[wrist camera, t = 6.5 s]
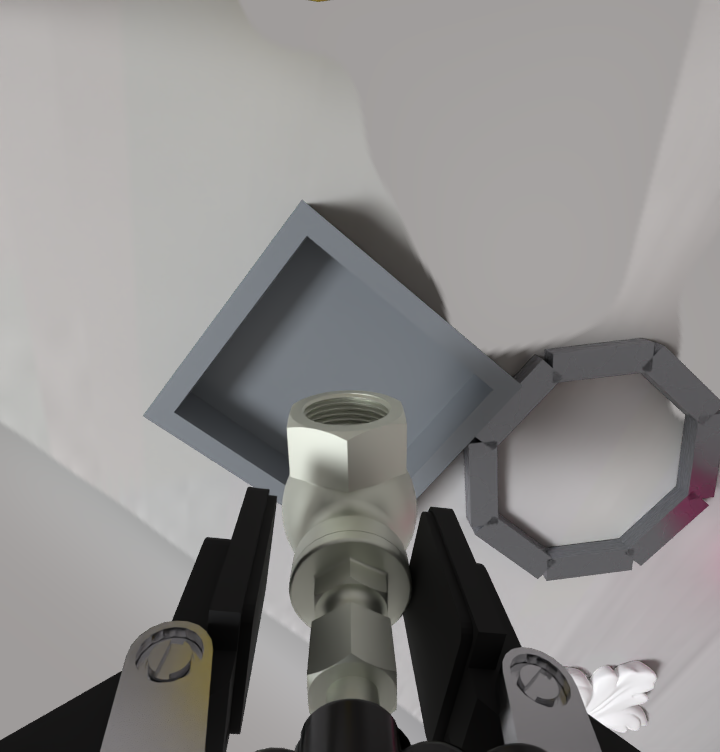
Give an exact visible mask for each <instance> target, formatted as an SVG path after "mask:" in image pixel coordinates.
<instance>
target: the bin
mask: <svg viewBox="0 0 720 752" xmlns="http://www.w3.org/2000/svg"><path fill="white" fill-rule="evenodd" d="M521 387H522V385H521V384H520V383H519V382H517V381H516V380H515V379H514V378H513V377H512V376H510V375H509V374H508V373H507V372H506V371H504V370H503V369H502V368H501V367H500V366H498V365H497V364H496V363H495V362H494V361H493V360H491V359H490V358H489V357H488V356H487V355H485V354H484V353H483V352H482V351H481V350H480V349H478V348H477V347H476V346H475V345H474V344H472V343H471V342H470V341H469V340H468V339H466V338H465V337H464V336H463V335H462V334H461V333H459V332H458V331H457V330H456V329H455V328H453V327H452V326H451V325H450V324H449V323H448V322H446V321H445V320H444V319H443V318H442V317H440V316H439V315H438V314H437V313H436V312H435V311H433V310H432V309H431V308H430V307H429V306H427V305H426V304H425V303H424V302H423V301H422V300H420V299H419V298H418V297H417V296H416V295H414V294H413V293H412V292H411V291H410V290H408V289H407V288H406V287H405V286H404V285H403V284H401V283H400V282H399V281H398V280H397V279H395V278H394V277H393V276H392V275H391V274H390V273H388V272H387V271H386V270H385V269H384V268H382V267H381V266H380V265H379V264H378V263H377V262H375V261H374V260H373V259H372V258H371V257H369V256H368V255H367V254H366V253H365V252H364V251H362V250H361V249H360V248H359V247H358V246H356V245H355V244H354V243H353V242H352V241H350V240H349V239H348V238H347V237H346V236H345V235H343V234H342V233H341V232H340V231H339V230H337V229H336V228H335V227H334V226H333V225H332V224H330V223H329V222H328V221H327V220H326V219H324V218H323V217H322V216H321V215H320V214H319V213H317V212H316V211H315V210H314V209H313V208H311V207H310V206H309V205H308V204H307V203H305V202H304V201H303V200H301V202H300V203H299V204H298V206H297V207H296V209H295V210H294V211H293V213H292V214H291V215H290V217H289V218H288V219H287V221H286V222H285V224H284V225H283V226H282V228H281V229H280V230H279V232H278V233H277V234H276V236H275V237H274V238H273V240H272V241H271V243H270V244H269V245H268V247H267V248H266V249H265V251H264V252H263V253H262V255H261V256H260V257H259V259H258V260H257V262H256V263H255V264H254V266H253V267H252V268H251V270H250V271H249V272H248V274H247V275H246V276H245V278H244V279H243V281H242V282H241V283H240V285H239V286H238V287H237V289H236V290H235V291H234V293H233V294H232V295H231V297H230V298H229V300H228V301H227V302H226V304H225V305H224V306H223V308H222V309H221V310H220V312H219V313H218V314H217V316H216V317H215V319H214V320H213V321H212V323H211V324H210V325H209V327H208V328H207V329H206V331H205V332H204V334H203V335H202V336H201V338H200V339H199V340H198V342H197V343H196V344H195V346H194V347H193V348H192V350H191V351H190V353H189V354H188V355H187V357H186V358H185V359H184V361H183V362H182V363H181V365H180V366H179V367H178V369H177V370H176V372H175V373H174V374H173V376H172V377H171V378H170V380H169V381H168V382H167V384H166V385H165V386H164V388H163V389H162V391H161V392H160V393H159V395H158V396H157V397H156V399H155V400H154V401H153V403H152V404H151V405H150V407H149V408H148V410H147V411H146V412H145V414H144V415H143V416H144V417H145V418H147V419H148V420H150V421H151V422H153V423H155V424H156V425H158V426H159V427H161V428H162V429H164V430H165V431H167V432H169V433H170V434H172V435H173V436H175V437H176V438H178V439H180V440H181V441H183V442H184V443H186V444H187V445H189V446H190V447H192V448H194V449H195V450H197V451H198V452H200V453H201V454H203V455H204V456H206V457H208V458H209V459H211V460H212V461H214V462H215V463H217V464H219V465H220V466H222V467H223V468H225V469H226V470H228V471H229V472H231V473H233V474H234V475H236V476H237V477H239V478H240V479H242V480H243V481H245V482H247V483H248V484H250V485H251V486H253V487H254V488H263V489H270V493H269V495H274V496H277V502H278V503H279V504H281V505H282V500H283V494H284V489H285V485H286V483H287V480H288V477H289V475H290V467H289V453H288V439H287V423H288V417H289V413H290V410H291V407H292V405H293V404H294V403H296V402H298V401H300V400H302V399H304V398H307V397H309V396H313V395H316V394H320V393H325V392H332V391H345V390H357V391H369V392H376V393H380V394H384V395H387V396H390V397H392V398H395V399H397V400H399V401H400V402H401V404H402V406H403V409H404V413H405V417H406V422H407V463H406V469H407V471H408V473H409V475H410V477H411V480H412V482H413V486H414V490H415V494H416V499H417V498H418V497H419V496H420V495H421V494H422V493H423V492H424V490H425V489H426V488H427V487H428V486H429V485H430V484H431V483H432V482H433V481H434V480H435V479H436V478H437V477H438V476H439V475H440V473H441V472H442V471H443V470H444V469H445V468H446V467H447V466H448V465H449V464H450V463H451V462H452V461H453V460H454V459H455V458H456V457H457V455H458V454H459V453H460V452H461V451H462V450H463V449H464V448H465V447H466V446H467V445H468V444H469V443H470V442H471V441H472V440H473V438H474V437H475V436H476V435H477V434H478V433H479V432H480V431H481V430H482V429H483V428H484V427H485V426H486V425H487V424H488V423H489V421H490V420H491V419H492V418H493V417H494V416H495V415H496V414H497V413H498V412H499V411H500V410H501V409H502V408H503V407H504V406H505V404H506V403H507V402H508V401H509V400H510V399H511V398H512V397H513V396H514V395H515V394H516V393H517V392H518V391H519V390H520V389H521Z"/></svg>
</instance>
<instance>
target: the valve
mask: <svg viewBox="0 0 720 752" xmlns="http://www.w3.org/2000/svg"><path fill="white" fill-rule="evenodd" d="M287 439H288V453H289V467H290V475H289V477H288V480H287V483H286V485H285V489H284V494H283V500H282V519H283V525H284V529H285V533H286V536H287V539H288V541H289V544H290V546H291V548H292V550H293V551H294V553H295V554H294V558H293V564H292V570H291V576H290V583H289V594H290V599H291V604H292V606H293V608H294V610H295V612H296V613H297V615H298V616H299V618H300V619H301V620H302V621H303V622H304V623H305V624H306V625H307V626H309V627H310V628H311V634H310V646H309V658H308V670H307V689H308V704H309V712H310V714H311V715H310V716H309V718H308V719H307V720H306V722H305V723H304V726H303V729H302V731H301V738H300V740H299V742H298V744H297V745H296V748H295V751H293V750H289V749H285V748H266V749H262V750H257V751H255V752H465V751H464V750H462V749H461V748H460V747H458V746H455V745H453V744H450V743H448V742H444V741H437V740H432V741H423V742H419V743H417V744H414V745H411V744H410V742H409V740H408V738H407V737H406V736H405V734H404V733H403V732H402V731H401V730H400V729H399V728H398V727H397V725H396V722H395V720H394V719H393V717H392V716H391V713H393V712H394V711H395V710H396V706H397V672H396V663H395V654H394V646H393V637H392V628H391V626H392V625H393V624H394V623H395V622H397V621H398V620H399V619H400V617H401V616H402V615H403V613H404V612H405V611H406V609H407V607H408V604H409V602H410V599H411V594H412V579H411V573H410V568H409V563H408V558H407V553H406V549H407V547H408V545H409V543H410V541H411V538H412V536H413V533H414V529H415V523H416V517H417V502H416V494H415V490H414V486H413V482H412V480H411V477H410V475H409V473H408V471H407V469H406V463H407V422H406V417H405V413H404V409H403V406H402V404H401V402H400V401H399V400H397V399H395V398H392V397H390V396H387V395H384V394H380V393H376V392H369V391H357V390H345V391H332V392H325V393H320V394H316V395H313V396H309V397H307V398H304V399H302V400H300V401H298V402H296V403H294V404H293V405H292V407H291V410H290V413H289V417H288V423H287ZM487 752H547V751H545V750H544V749H542V748H540V747H538V746H535V745H531V744H527V743H509V744H504V745H500V746H497V747H495V748H492V749H490V750H488V751H487Z"/></svg>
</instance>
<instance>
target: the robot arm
mask: <svg viewBox="0 0 720 752" xmlns="http://www.w3.org/2000/svg"><path fill="white" fill-rule="evenodd" d="M269 493H270V489H263V488H254V487H248V488H247V491H246V494H245V498H244V501H243V504H242V507H241V510H240V514H239V517H238V520H237V523H236V526H235V529H234V533H233V536H232V539H231V540H230V539H220V538H210V537H207V538H205V540H204V542H203V545H202V547H201V550H200V552H199V555H198V557H197V560H196V562H195V565H194V567H193V570H192V572H191V575H190V577H189V580H188V582H187V585H186V587H185V590H184V592H183V595H182V597H181V600H180V602H179V605H178V607H177V610H176V612H175V615H174V617H173V620H172V621H171V622H164V623H161V624H159V625H157V626H154V627H152V628H150V629H148V630H147V631H145V632H144V633H143V634H141V635H140V636H139V637H138V638H137V639H136V640H135V641H134V643H133V644H132V645H131V647H130V649H129V651H128V653H127V655H126V659H125V662H124V666H123V669H122V671H121V672H119V673H117V674H116V675H114V676H112V677H110V678H109V679H107V680H105V681H103V682H102V683H100V684H98V685H96V686H95V687H93V688H91V689H89V690H88V691H86V692H84V693H82V694H81V695H79V696H77V697H75V698H74V699H72V700H70V701H68V702H67V703H65V704H63V705H61V706H60V707H58V708H56V709H54V710H53V711H51V712H49V713H47V714H46V715H44V716H42V717H40V718H39V719H37V720H35V721H33V722H32V723H30V724H28V725H26V726H25V727H23V728H21V729H19V730H18V731H16V732H14V733H12V734H10V735H9V736H7V737H5V738H3V739H2V740H0V752H226V749H227V744H228V739H229V734H240V732H241V726H242V721H243V715H244V710H245V704H246V697H247V692H248V687H249V681H250V675H251V670H252V663H253V658H254V653H255V647H256V642H257V635H258V630H259V624H260V619H261V613H262V608H263V602H264V596H265V590H266V583H267V575H268V567H269V559H270V551H271V543H272V535H273V527H274V519H275V511H276V503H277V496H274V495H269ZM409 568H410V573H411V579H412V594H411V599H410V602H409V604H408V607H407V609H406V611H405V612H404V613H403V617H404V622H405V627H406V633H407V638H408V643H409V649H410V654H411V659H412V665H413V670H414V675H415V681H416V686H417V691H418V697H419V702H420V707H421V713H422V718H423V723H424V729H425V734H426V738H427V741H432V740H437V741H444V742H448V743H450V744H453V745H455V746H458V747H460V748H461V749H462V750H464V751H465V752H487V751H488V750H490V749H492V748H495V747H497V746H500V745H504V744H509V743H527V744H531V745H535V746H538V747H540V748H542V749H544V750H545V751H547V752H640V751H639V750H638V749H636V748H635V747H634V746H632V745H631V744H629V743H628V742H627V741H625V740H624V739H622V738H621V737H620V736H618V735H617V734H615V733H614V732H613V731H611V730H610V729H609V728H607V727H606V726H604V725H603V724H602V723H600V722H599V721H597V720H596V719H595V718H593V717H592V716H590V715H589V714H588V713H587V711H586V708H585V706H584V703H583V700H582V698H581V695H580V692H579V690H578V687H577V685H576V683H575V681H574V680H573V678H572V676H571V675H570V674H569V672H568V671H567V670H566V669H565V668H564V667H563V666H562V665H561V664H560V663H559V662H557V661H556V660H555V659H554V658H552V657H550V656H549V655H547V654H545V653H543V652H541V651H538V650H535V649H532V648H524V647H521V645H520V642H519V640H518V638H517V636H516V634H515V631H514V629H513V627H512V625H511V623H510V620H509V618H508V616H507V614H506V612H505V609H504V607H503V605H502V603H501V601H500V598H499V596H498V594H497V592H496V590H495V587H494V585H493V583H492V581H491V579H490V576H489V574H488V572H487V570H486V568H485V567H484V565H482V564H479V563H476V562H475V559H474V557H473V555H472V552H471V550H470V548H469V545H468V543H467V541H466V538H465V536H464V534H463V532H462V529H461V527H460V525H459V522H458V520H457V518H456V515H455V513H454V511H453V509H447V508H438V507H430V509H429V511H428V512H422V514H421V517H420V521H419V526H418V530H417V534H416V538H415V543H414V547H413V551H412V556H411V560H410V564H409Z"/></svg>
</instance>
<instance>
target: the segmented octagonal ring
mask: <svg viewBox="0 0 720 752" xmlns="http://www.w3.org/2000/svg"><path fill="white" fill-rule="evenodd" d="M634 373H641V374H642V375H643V376H644V377H645V378H646V379H647V380H649V381H650V382H651V383H652V384H653V385H654V386H655V387H656V388H657V389H658V390H659V391H660V392H661V393H662V394H663V395H665V396H666V397H667V398H668V399H669V400H670V401H671V402H672V403H673V404H674V405H675V406H676V407H677V408H678V409H680V410H681V411H682V412H683V413H684V414H685V423H684V431H683V438H682V446H681V454H680V462H679V470H678V478H677V486H676V487H675V488H674V489H673V490H672V491H671V492H670V493H668V494H667V495H666V496H665V497H664V498H663V499H662V500H661V501H660V502H659V503H658V504H656V505H655V506H654V507H653V508H652V509H651V510H650V511H649V512H648V513H647V514H646V515H644V516H643V517H642V518H641V519H640V520H639V521H638V522H637V523H636V524H635V525H633V526H632V527H631V528H630V529H629V530H628V531H627V532H626V533H625V534H624V535H623V536H621V537H620V538H619V539H613V540H605V541H597V542H589V543H582V544H574V545H566V546H558V547H550V548H545V547H543V546H542V545H541V544H539V543H538V542H537V541H535V540H534V539H532V538H531V537H530V536H528V535H527V534H526V533H524V532H523V531H522V530H520V529H519V528H518V527H516V526H515V525H513V524H512V523H511V522H509V521H508V520H507V519H505V518H504V517H503V516H501V515H500V514H499V513H498V459H497V446H498V445H499V444H500V443H501V442H502V441H503V440H504V439H505V438H506V437H507V436H508V435H509V434H510V432H511V431H512V430H513V429H514V428H515V427H516V426H517V425H518V424H519V423H520V422H521V421H522V420H523V419H524V418H525V417H526V416H527V415H528V414H529V413H530V412H531V411H532V410H533V409H534V407H535V406H536V405H537V404H538V403H539V402H540V401H541V400H542V399H543V398H544V397H545V396H546V395H547V394H548V393H549V392H550V391H551V390H552V389H553V388H554V387H555V386H556V385H557V384H558V382H565V381H574V380H583V379H591V378H600V377H608V376H617V375H625V374H634ZM513 378H514V379H515V380H516V381H517V382H519V383H520V384H521V385H522V387H521V389H520V390H519V391H518V392H517V393H516V394H515V395H514V396H513V397H512V398H511V399H510V400H509V401H508V402H507V403H506V404H505V406H504V407H503V408H502V409H501V410H500V411H499V412H498V413H497V414H496V415H495V416H494V417H493V418H492V419H491V420H490V421H489V423H488V424H487V425H486V426H485V427H484V428H483V429H482V430H481V431H480V432H479V433H478V434H477V435H476V436H475V437H474V438H473V440H472V441H471V442H470V443H469V444H468V445H467V446H466V447H465V448H464V461H465V490H466V517H467V519H468V521H469V524H470V526H471V527H472V529H473V531H474V533H475V535H476V536H478V537H479V538H481V539H482V540H484V541H485V542H486V543H488V544H489V545H491V546H492V547H493V548H495V549H496V550H498V551H499V552H500V553H502V554H503V555H505V556H506V557H507V558H509V559H510V560H512V561H513V562H515V563H516V564H517V565H519V566H520V567H522V568H523V569H524V570H526V571H527V572H529V573H530V574H531V575H533V576H534V577H536V578H537V579H538V578H539V577H540V576H542V575H543V576H544V578H545V579H546V581H549V580H557V579H565V578H573V577H580V576H588V575H596V574H604V573H612V572H619V571H627V570H632V564H633V560H634V561H635V562H637V563H638V564H639V565H642V564H643V563H645V562H646V561H647V560H648V559H649V558H650V557H651V556H652V555H654V554H655V553H656V552H657V551H658V550H659V549H660V548H661V547H663V546H664V545H665V544H666V543H667V542H668V541H669V540H670V539H672V538H673V537H674V536H675V535H676V534H677V533H678V532H679V531H681V530H682V529H683V528H684V527H685V526H686V525H687V524H688V523H690V522H691V521H692V520H693V519H694V518H695V517H696V516H697V515H699V514H700V513H701V512H702V511H703V510H704V509H705V508H706V507H708V506H709V505H708V504H707V503H706V502H705V501H703V500H702V499H701V498H709V497H714V493H715V487H716V480H717V474H718V468H719V461H720V400H719V399H718V398H717V397H716V396H715V395H714V394H713V393H712V392H711V391H710V390H709V389H708V388H707V387H706V386H705V385H704V384H703V383H702V382H701V381H700V380H699V379H698V378H697V377H696V376H695V375H694V374H693V373H692V372H691V371H690V370H689V369H688V368H687V367H686V366H685V365H684V364H683V363H682V362H681V361H680V360H679V359H678V358H677V357H676V356H674V355H673V354H672V353H671V352H670V351H669V350H668V349H667V348H666V347H665V346H664V345H661V344H659V343H656V342H653V341H649V340H646V339H643V338H639V339H630V340H621V341H613V342H604V343H595V344H587V345H578V346H569V347H560V348H552V349H545V361H544V360H543V359H541V358H540V357H538V356H536V355H534V356H533V357H532V358H531V359H530V360H529V361H528V362H527V363H526V364H525V366H524V367H523V368H522V369H521V370H520V371H519V372H518V373H517V374H516V375H515V376H514V377H513Z"/></svg>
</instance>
